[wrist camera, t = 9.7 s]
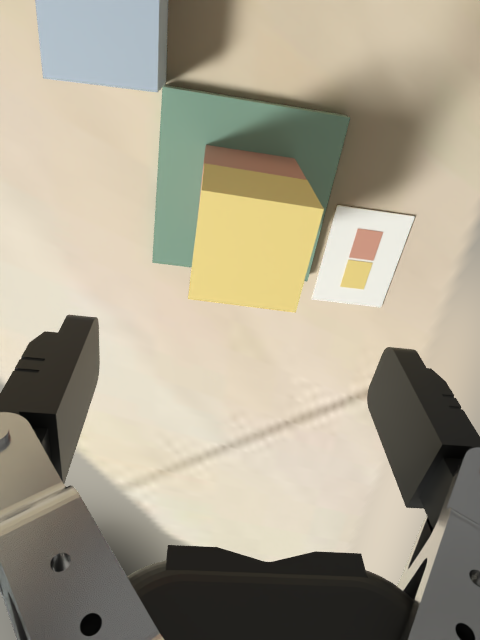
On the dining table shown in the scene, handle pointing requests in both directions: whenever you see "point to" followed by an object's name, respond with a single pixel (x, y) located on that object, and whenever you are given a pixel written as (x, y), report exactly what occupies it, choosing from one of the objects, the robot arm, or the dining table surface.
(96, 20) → the slate brick
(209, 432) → the dining table surface
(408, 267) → the dining table surface
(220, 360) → the dining table surface
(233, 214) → the mustard brick
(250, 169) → the base brick
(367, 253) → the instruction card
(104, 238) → the dining table surface
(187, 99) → the build plate
